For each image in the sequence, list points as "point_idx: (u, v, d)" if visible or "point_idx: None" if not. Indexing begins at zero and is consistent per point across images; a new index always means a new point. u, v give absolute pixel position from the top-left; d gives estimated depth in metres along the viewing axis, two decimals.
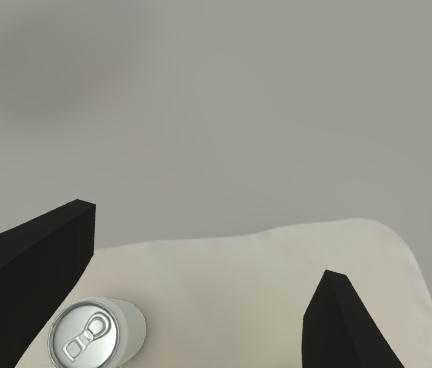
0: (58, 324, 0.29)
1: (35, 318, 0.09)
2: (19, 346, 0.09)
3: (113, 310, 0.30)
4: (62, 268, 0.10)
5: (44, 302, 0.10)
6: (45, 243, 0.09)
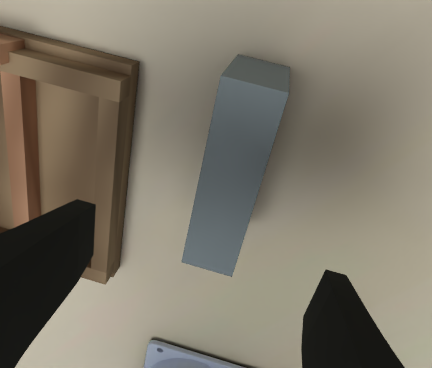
0: None
1: (35, 318, 0.09)
2: (19, 346, 0.09)
3: None
4: (62, 268, 0.10)
5: (44, 302, 0.10)
6: (45, 243, 0.09)
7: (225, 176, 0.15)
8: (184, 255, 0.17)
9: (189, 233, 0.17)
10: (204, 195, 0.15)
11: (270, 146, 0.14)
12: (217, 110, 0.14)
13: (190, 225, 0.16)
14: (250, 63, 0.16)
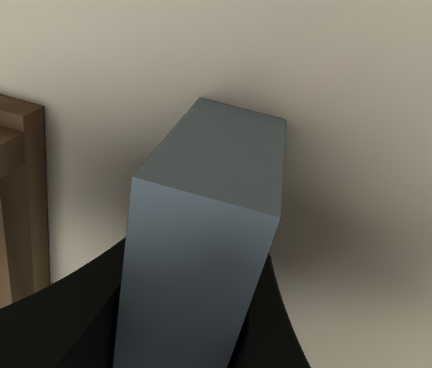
0: None
1: None
2: None
3: None
4: None
5: None
6: None
7: (162, 344, 0.08)
8: None
9: None
10: (128, 367, 0.08)
11: (244, 307, 0.07)
12: (134, 239, 0.07)
13: None
14: (214, 121, 0.09)
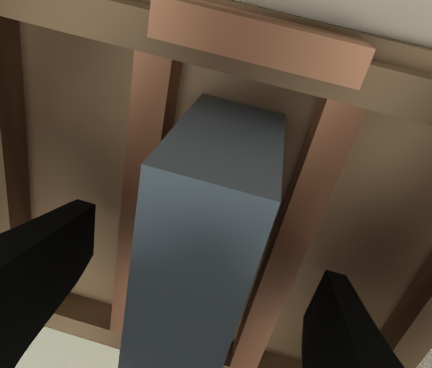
0: None
1: (35, 318, 0.09)
2: (19, 346, 0.09)
3: None
4: (62, 268, 0.10)
5: (44, 302, 0.10)
6: (45, 243, 0.09)
7: (168, 326, 0.08)
8: None
9: None
10: (135, 349, 0.09)
11: (246, 288, 0.07)
12: (142, 224, 0.07)
13: None
14: (217, 115, 0.09)
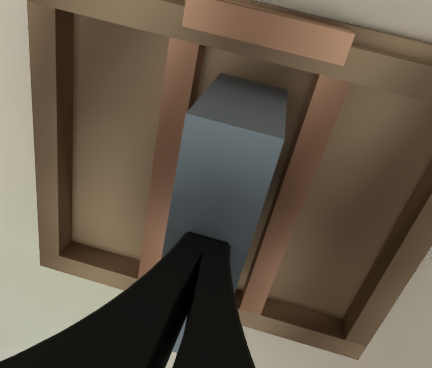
0: None
1: (165, 358, 0.09)
2: None
3: None
4: (185, 305, 0.10)
5: (171, 341, 0.09)
6: (185, 284, 0.09)
7: None
8: None
9: None
10: None
11: (259, 209, 0.10)
12: (183, 160, 0.10)
13: None
14: (234, 88, 0.12)
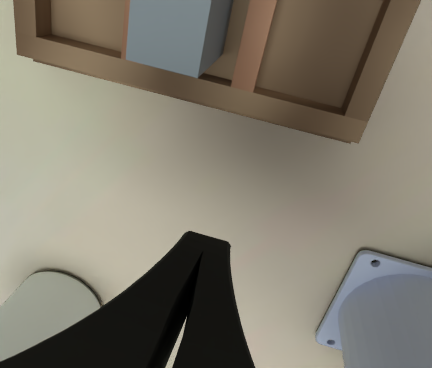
0: None
1: (165, 358, 0.09)
2: None
3: None
4: (185, 304, 0.10)
5: (171, 341, 0.09)
6: (185, 284, 0.09)
7: None
8: (128, 46, 0.12)
9: (132, 1, 0.11)
10: None
11: None
12: None
13: None
14: None
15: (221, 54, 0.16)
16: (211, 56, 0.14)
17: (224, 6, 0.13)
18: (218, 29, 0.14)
